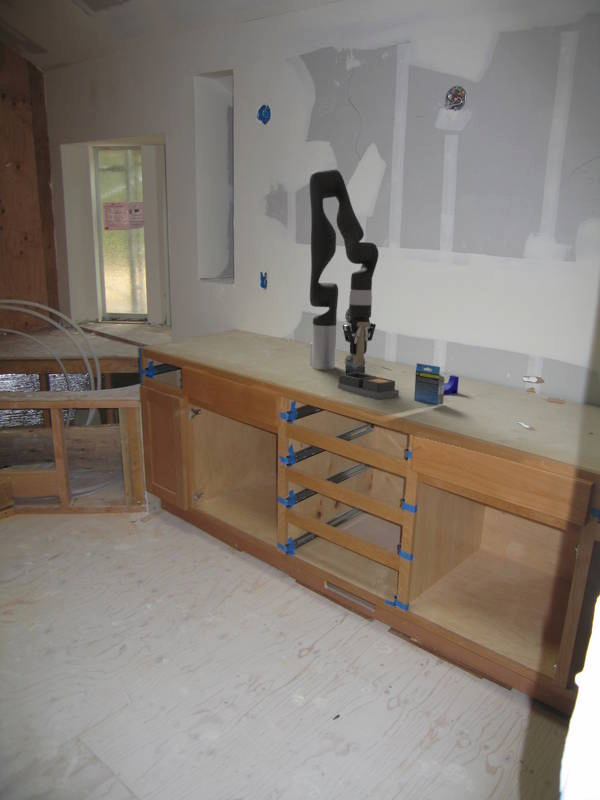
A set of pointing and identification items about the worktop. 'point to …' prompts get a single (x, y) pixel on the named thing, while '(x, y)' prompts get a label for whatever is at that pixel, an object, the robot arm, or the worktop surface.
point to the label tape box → (429, 384)
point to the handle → (360, 344)
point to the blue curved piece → (451, 385)
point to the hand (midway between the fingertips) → (358, 353)
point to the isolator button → (378, 380)
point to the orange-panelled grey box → (367, 385)
